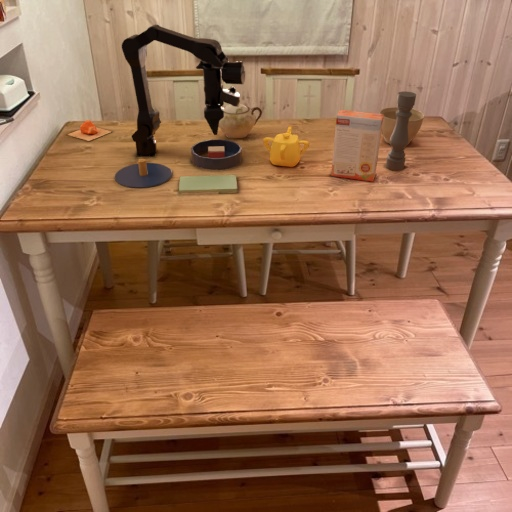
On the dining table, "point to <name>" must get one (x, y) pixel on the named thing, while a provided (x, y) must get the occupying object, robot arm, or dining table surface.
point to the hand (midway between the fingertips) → (215, 129)
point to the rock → (89, 131)
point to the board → (208, 184)
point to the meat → (216, 152)
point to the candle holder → (400, 131)
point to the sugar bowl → (238, 120)
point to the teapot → (285, 149)
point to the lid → (143, 175)
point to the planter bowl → (391, 119)
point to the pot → (230, 160)
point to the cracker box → (356, 145)
